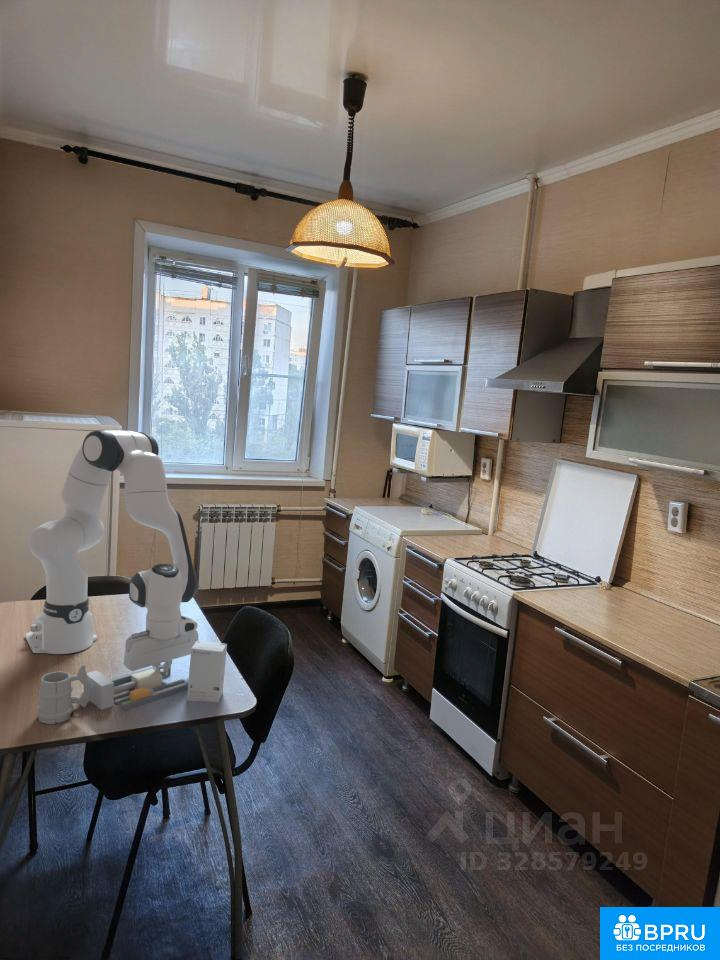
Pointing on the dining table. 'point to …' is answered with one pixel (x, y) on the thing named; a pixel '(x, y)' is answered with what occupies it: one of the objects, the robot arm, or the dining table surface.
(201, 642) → the skincare box
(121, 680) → the base
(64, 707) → the mug
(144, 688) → the orange rectangular block
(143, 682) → the cream block with rods
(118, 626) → the dining table surface
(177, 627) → the robot arm
